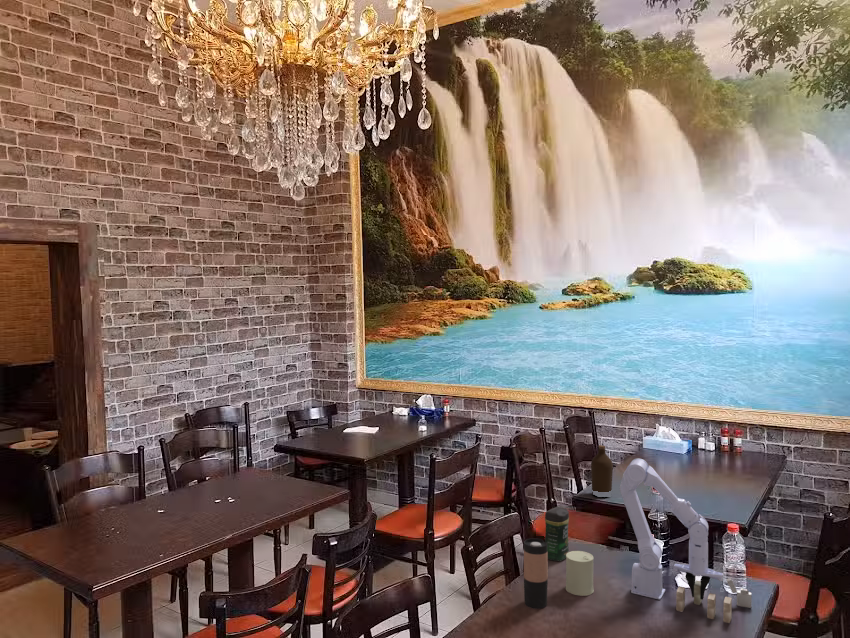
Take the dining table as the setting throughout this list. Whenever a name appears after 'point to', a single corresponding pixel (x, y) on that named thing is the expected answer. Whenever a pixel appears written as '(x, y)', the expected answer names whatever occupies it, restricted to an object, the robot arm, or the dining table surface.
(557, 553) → the coffee jar
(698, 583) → the domino
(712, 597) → the domino
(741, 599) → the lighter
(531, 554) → the travel mug
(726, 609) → the domino
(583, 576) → the can
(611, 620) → the dining table surface
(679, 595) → the domino
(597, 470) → the olive oil
